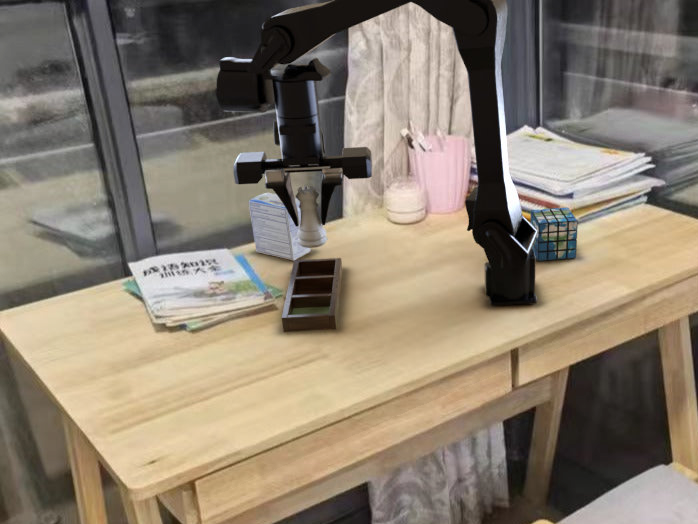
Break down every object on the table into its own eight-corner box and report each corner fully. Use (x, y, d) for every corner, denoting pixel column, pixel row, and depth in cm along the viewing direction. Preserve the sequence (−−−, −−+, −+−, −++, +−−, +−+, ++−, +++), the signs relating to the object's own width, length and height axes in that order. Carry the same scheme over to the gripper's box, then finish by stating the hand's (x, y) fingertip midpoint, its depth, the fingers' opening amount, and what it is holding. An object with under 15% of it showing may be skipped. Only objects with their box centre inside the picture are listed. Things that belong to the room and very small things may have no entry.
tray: (342, 270, 143) (341, 257, 142) (336, 329, 127) (334, 315, 126) (295, 272, 143) (294, 259, 142) (283, 332, 127) (281, 317, 126)
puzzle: (576, 258, 144) (578, 220, 141) (537, 261, 144) (538, 223, 141) (566, 243, 149) (568, 206, 146) (529, 246, 149) (530, 209, 145)
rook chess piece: (334, 241, 137) (329, 187, 133) (311, 251, 134) (304, 196, 130) (314, 234, 140) (308, 181, 135) (290, 243, 137) (283, 189, 132)
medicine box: (311, 252, 150) (305, 199, 145) (293, 262, 147) (286, 208, 142) (273, 243, 153) (266, 191, 149) (255, 252, 150) (247, 199, 145)
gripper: (368, 95, 134) (376, 202, 142) (236, 101, 133) (252, 208, 142) (366, 116, 124) (375, 229, 133) (224, 122, 124) (242, 236, 133)
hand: (310, 224), depth 135 cm, fingers closed on rook chess piece, 3 cm apart
